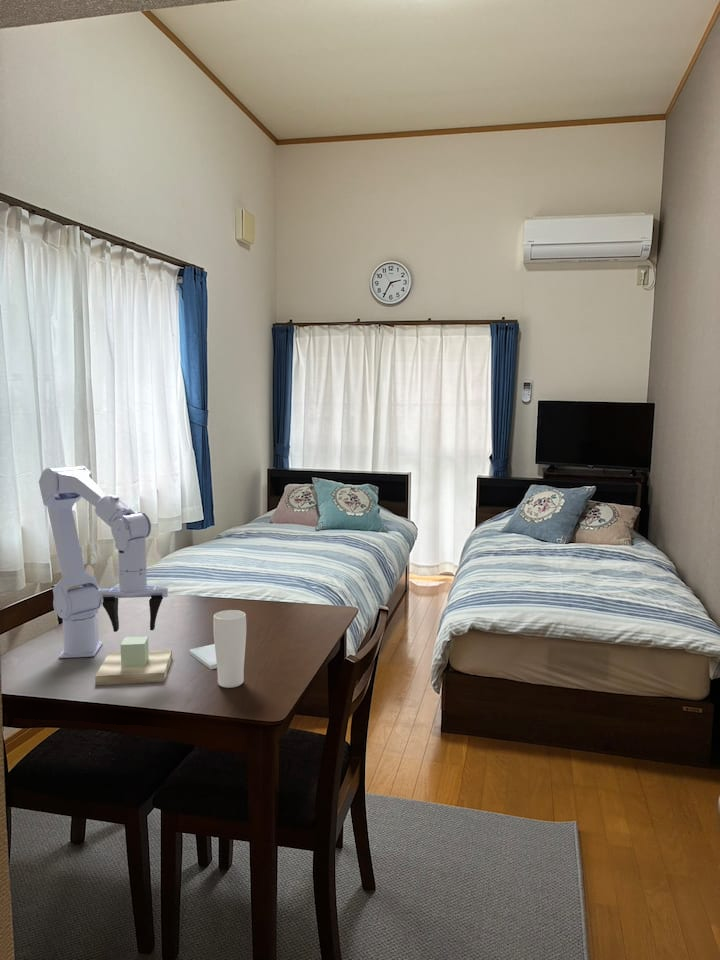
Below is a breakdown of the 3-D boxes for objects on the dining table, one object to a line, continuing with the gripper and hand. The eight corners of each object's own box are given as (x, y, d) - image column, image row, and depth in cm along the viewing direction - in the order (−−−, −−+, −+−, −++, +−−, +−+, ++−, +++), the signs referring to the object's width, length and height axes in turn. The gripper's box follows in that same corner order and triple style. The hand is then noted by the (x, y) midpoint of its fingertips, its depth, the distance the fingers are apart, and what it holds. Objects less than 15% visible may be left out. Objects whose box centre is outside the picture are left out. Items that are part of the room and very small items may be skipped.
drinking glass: (233, 692, 143) (231, 621, 141) (207, 686, 146) (206, 616, 144) (253, 681, 148) (252, 612, 147) (228, 675, 152) (227, 608, 150)
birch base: (109, 661, 160) (109, 652, 160) (172, 658, 162) (172, 649, 162) (95, 685, 146) (95, 676, 146) (164, 681, 148) (164, 672, 148)
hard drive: (188, 649, 165) (210, 664, 155) (220, 642, 170) (244, 656, 160) (188, 656, 165) (211, 672, 155) (220, 649, 170) (244, 663, 160)
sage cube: (125, 659, 156) (124, 637, 155) (148, 657, 156) (148, 636, 156) (121, 667, 151) (120, 644, 150) (145, 666, 151) (144, 643, 151)
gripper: (93, 574, 147) (95, 637, 148) (164, 572, 149) (166, 634, 150) (100, 566, 153) (103, 626, 155) (168, 564, 156) (170, 624, 157)
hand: (134, 629), depth 153 cm, fingers open, 7 cm apart
